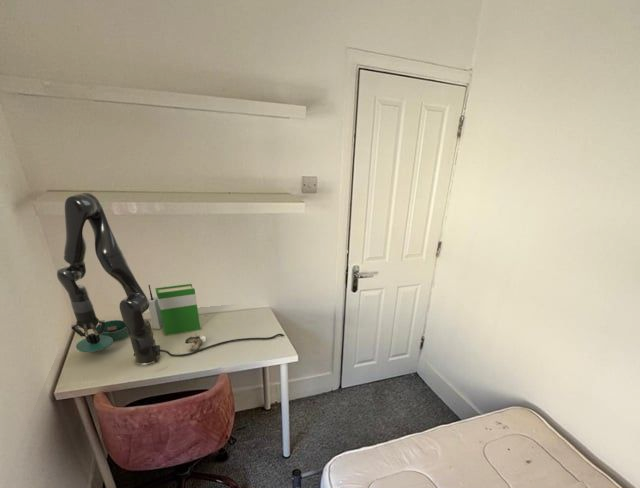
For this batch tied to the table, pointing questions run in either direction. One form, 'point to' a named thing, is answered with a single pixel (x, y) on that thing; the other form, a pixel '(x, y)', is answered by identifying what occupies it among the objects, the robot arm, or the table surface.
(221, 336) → the table surface
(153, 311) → the vintage mobile phone
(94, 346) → the lid
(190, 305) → the hardback book
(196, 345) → the eagle figurine
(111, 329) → the block
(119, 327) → the tin
